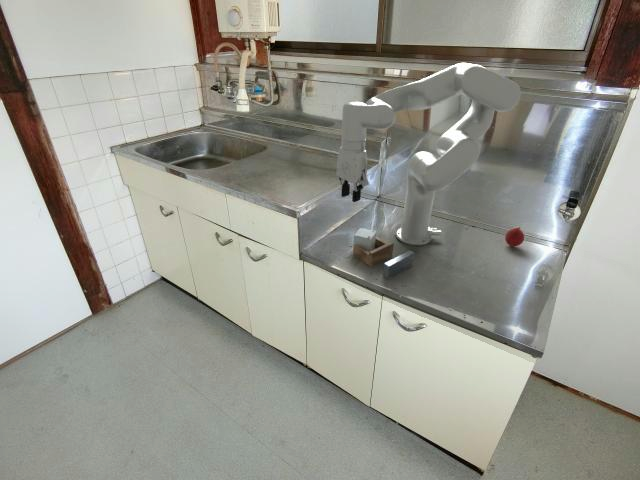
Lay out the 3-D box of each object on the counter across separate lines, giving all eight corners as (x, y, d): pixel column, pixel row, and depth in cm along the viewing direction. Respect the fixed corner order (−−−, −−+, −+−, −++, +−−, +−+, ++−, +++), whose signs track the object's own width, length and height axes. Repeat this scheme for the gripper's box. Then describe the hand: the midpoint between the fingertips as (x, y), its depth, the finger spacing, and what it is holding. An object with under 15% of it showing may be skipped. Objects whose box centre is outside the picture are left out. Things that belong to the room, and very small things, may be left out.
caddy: (353, 255, 122) (354, 243, 120) (374, 245, 128) (375, 233, 125) (370, 266, 117) (371, 253, 114) (392, 255, 122) (393, 243, 120)
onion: (516, 252, 125) (522, 232, 120) (499, 246, 128) (505, 226, 124) (523, 247, 128) (530, 227, 124) (507, 240, 132) (513, 221, 128)
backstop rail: (382, 276, 112) (384, 263, 110) (407, 263, 119) (409, 250, 116) (387, 279, 111) (389, 266, 108) (412, 265, 118) (414, 252, 115)
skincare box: (358, 245, 129) (360, 227, 125) (375, 249, 126) (376, 230, 123) (352, 253, 124) (353, 234, 120) (369, 257, 122) (371, 238, 118)
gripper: (326, 140, 116) (326, 193, 125) (364, 153, 105) (360, 210, 114) (344, 137, 120) (342, 188, 129) (381, 148, 109) (376, 203, 118)
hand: (350, 197), depth 122 cm, fingers open, 4 cm apart
